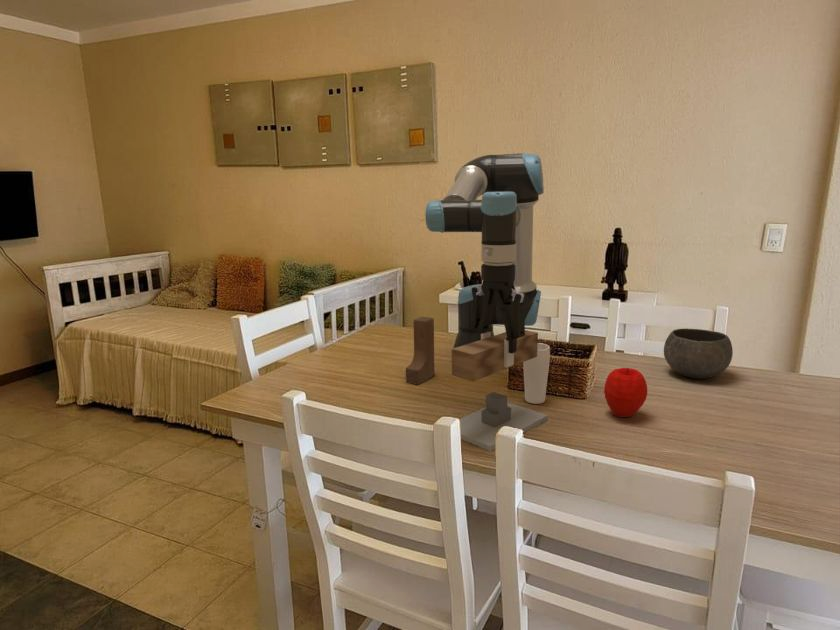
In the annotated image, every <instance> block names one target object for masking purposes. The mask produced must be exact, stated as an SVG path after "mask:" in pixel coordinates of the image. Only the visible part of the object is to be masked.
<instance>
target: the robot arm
mask: <svg viewBox="0 0 840 630" xmlns="http://www.w3.org/2000/svg"><path fill="white" fill-rule="evenodd" d="M544 190H545V187H544V176H543V166H542V161H541V157H540V156H539V155H538V154H536V153H526V152H524V153H505V154H503V153H502V154H486V155H483V156H478V157H477V158H475V159H472V160H470V161H469V162H467V163H466V164H464V165H463V166H461V167H460V168H459V170H458V171H457V172H456V174H455V176H454V183H453V184H452V186H451V187H450V189H449V190H448V192H447V193H446V195H445V196H444V198H443V199H436V200H430V201H428V202H427V204H426V207H425V213H424V215H425V225H426V228H427V229H428V230H429V232H437V233H441V234H443V233H481V252H480V253H481V254H480V255H481V259H480V260H481V262H483V263H482V264H481V267H480V268H481V269H480V279H481V280H482V283H480V284H479V283H478V284H472V285H468V286H465V287H462V288H461V289H459V290H458V291H459V292H458V299H457V305H458V306H457V311H458V312H457V314H458V318H457V319H458V321H457V323H458V325H457V326H458V332H457V335H456V338H455V341H454V345H453V347H452V349H453V348H456V347H460V346H463V345H466V344H469V343H472V342H476V341H479V340H482V339H485V338H489V337H492V336H495V333H494V325H496V326H497V325H500V326H504V329H505V332H506V334H507V338H505V339H504V367H505V368H507V367H509V368H511V367H510V366H512V365H514V353H515V352H516V350H517V338H520V337H523V336H525V330H526V327H527V326H528V327H529V326H530V327H531V326H534V325H535V324H536V323H537V321H538V320H537V318H538V313H539V308H540V301H541V295H542V292H541V290H539V289H537V286H538V285H537V283H535V282H534V281H533V241H534V240H533V237H534V236H533V234H534V232H533V231H534V206H535V205H536V204H537V203H538V202H539V199H540V198H539V196H541V195H544V192H545V191H544ZM480 196H482V197H481V199H478V198H479V197H480ZM525 326H526V327H525ZM514 366H515V365H514ZM512 367H513V366H512ZM507 369H508V368H507Z"/></svg>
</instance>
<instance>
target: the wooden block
mask: <svg viewBox="0 0 840 630" xmlns="http://www.w3.org/2000/svg"><path fill="white" fill-rule="evenodd" d="M434 321H435V319H434V317H428V316H427V317H426V316H420V317H418V318H414V319H413V350H414V352H413V356H412V357H413V358H412V361H411V363H410V364H409V365H408V366H406V368H405V382H406V383H408V384H414V385H420V384H422V383H424V382H426V381H427V380H429V379H431V378H433V377H434V376H435V374H436V373H435V326H434V325H435V323H434Z"/></svg>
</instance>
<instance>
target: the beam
mask: <svg viewBox="0 0 840 630" xmlns="http://www.w3.org/2000/svg"><path fill="white" fill-rule="evenodd" d="M538 337H539V333H538V332H536V331H531V330H526V329H525V336H523V337H520V338H517V350H516V352H515V353H514V365H512V366H510V367H507V368H505V367H504V339H505V338H507V334H506V331H505V332H502V333H498V334H496V335H495V334H494V336H492V337H489V338H485V339H482V340H479V341H476V342H472V343H469V344H466V345H463V346H460V347H456V348H453V347H452V348H451V376H453V377H457V378H460V379H463V380H466V381H470V382H476V381H478V380H481V379H484V378H485V377H489V376H491V375H494V374H496V373H499V372H501V371H504V370H507V369H509V368H513V367H515V366H516V365H519V364H523V362H525V361H527V360H530V359H532V358H535V357H537V346H538V343H539V342H538V340H539V339H538Z"/></svg>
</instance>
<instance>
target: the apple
mask: <svg viewBox="0 0 840 630" xmlns="http://www.w3.org/2000/svg"><path fill="white" fill-rule="evenodd" d="M603 393H604V399H605V401H606V404H607V406H608V408H609V410H610V411H611V412H612V414H613V415H615V416H616V417H617V418H618V417H619V418H628V417H631V416H634V415H635V414H636V413H637V412H638V411H639V410H640V409H641V407H642V406H643V405H644V403H645V402H646V400H647V397H648V385H647V381H646V379H645V377H644V374H643V373H641V372H640V371H639V370H638V369H635V368H632V367H631V368H630V367H621V368H616V369H613V370H611V372H609V373H608V375H607V377H606V379H605V382H604V389H603Z"/></svg>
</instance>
